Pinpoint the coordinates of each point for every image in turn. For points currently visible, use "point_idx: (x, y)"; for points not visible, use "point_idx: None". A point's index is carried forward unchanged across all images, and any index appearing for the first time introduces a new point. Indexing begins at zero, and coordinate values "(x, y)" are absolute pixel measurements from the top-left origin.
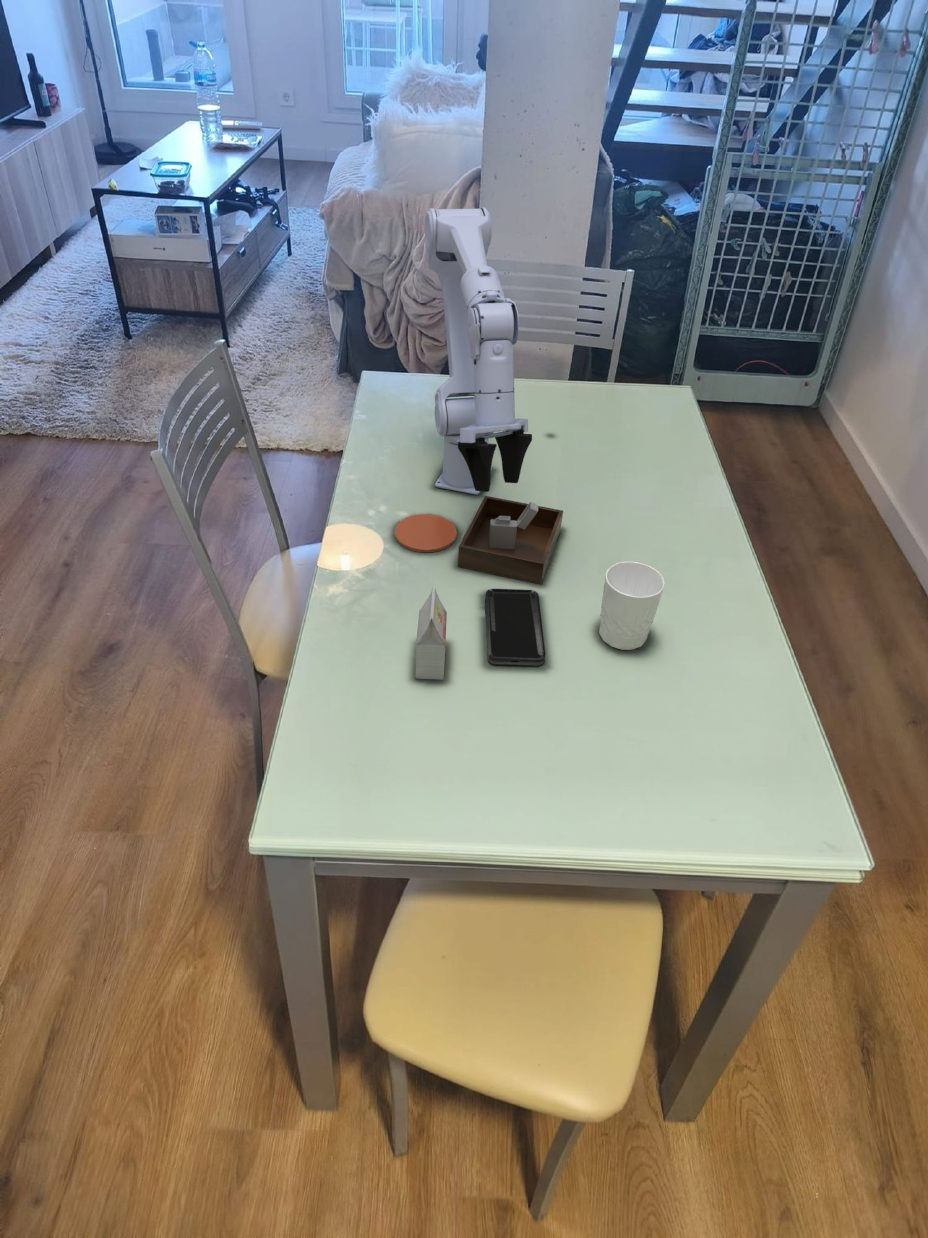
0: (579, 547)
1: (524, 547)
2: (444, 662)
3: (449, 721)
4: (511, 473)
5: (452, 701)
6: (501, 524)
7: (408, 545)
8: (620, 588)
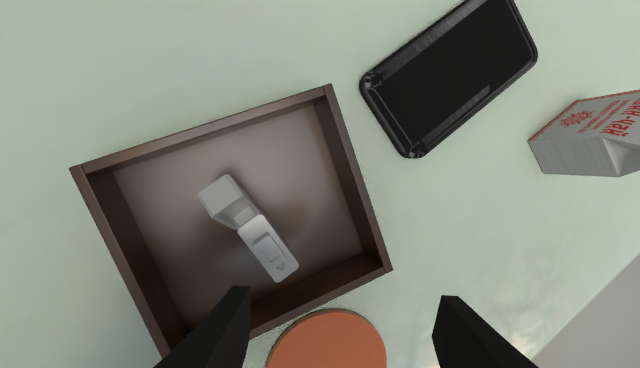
0: (134, 91)
1: None
2: (570, 112)
3: (620, 51)
4: (239, 333)
5: (596, 67)
6: (280, 248)
7: (384, 359)
8: None
